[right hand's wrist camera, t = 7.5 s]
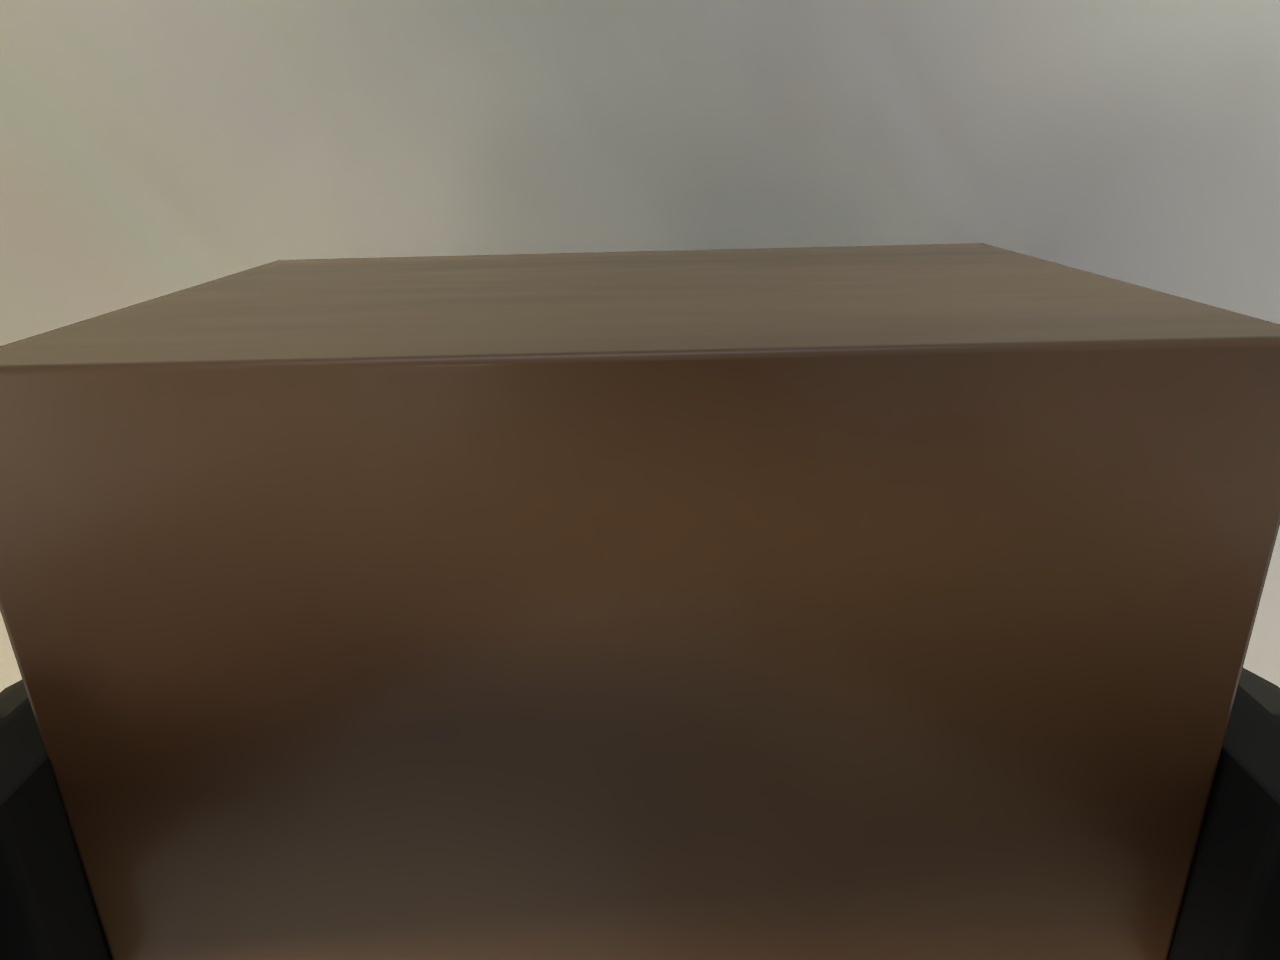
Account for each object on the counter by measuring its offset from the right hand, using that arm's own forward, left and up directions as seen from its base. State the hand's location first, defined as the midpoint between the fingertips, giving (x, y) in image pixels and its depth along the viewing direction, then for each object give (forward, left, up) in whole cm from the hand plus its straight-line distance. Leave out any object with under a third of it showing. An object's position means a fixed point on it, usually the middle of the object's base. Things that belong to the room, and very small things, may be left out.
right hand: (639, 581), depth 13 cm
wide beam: (+3, -33, -1) cm, 33 cm away
